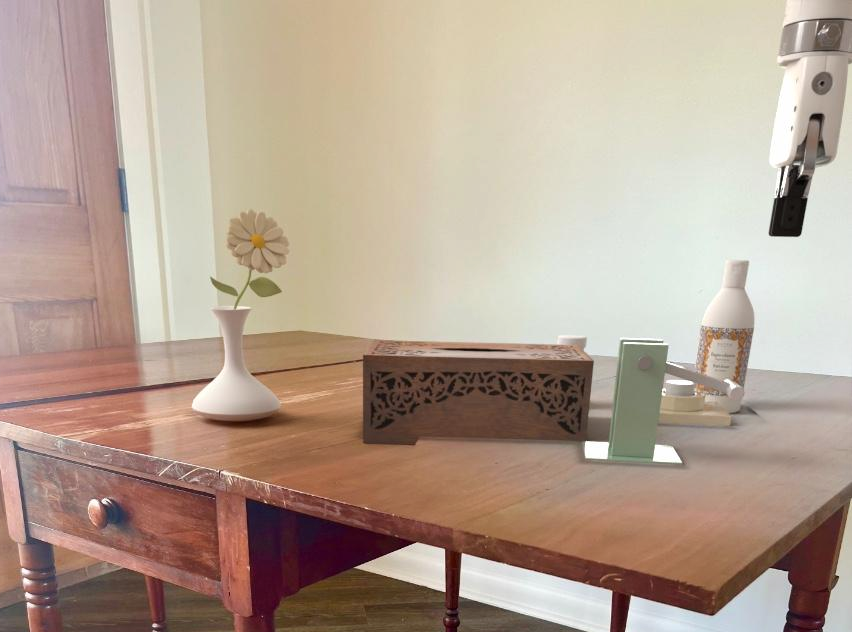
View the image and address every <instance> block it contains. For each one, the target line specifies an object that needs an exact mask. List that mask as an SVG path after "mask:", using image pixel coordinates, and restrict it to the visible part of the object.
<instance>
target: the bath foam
mask: <svg viewBox="0 0 852 632" xmlns="http://www.w3.org/2000/svg"><path fill="white" fill-rule="evenodd" d="M749 266H750V261H749V260H747V259H727V260H725V266H724V272H723V279H722V287H721V289H720V290H719V291H718V293H717V294H716V295H715V297H713V299H712V300H711V302H710V303H709V305H708V306H707V308H706V310H705V312H704V314H703V317H702V320H701V324H700V329H699V337H698V343H697V350H696V355H695V363H694V370H693V371H695V372H698V373H701V374H704V375H707V376H710V377H713V378H716V379H719V380H722V381H724V380H727V379H731V380H733V381H734V382H735V383H737V384H738V385H739V386H740V387H742V388H743V389H744V390H745V385H746V377H747V372H748V366H749V361H750V354H751V349H752V343H753V337H754V331H755V311H754V307H753V305H752V302H751V300H750V297H749V295H748V293H747V291H746V284H747V278H748V272H749ZM694 391H698V392H702V393H704V394H705V395H706V396H705V401H707V402H718V403H719V404H720V405H721V406H722V407H723V408H724V409H725V410H726V411H727V412H728V413H729V414H730V415H732V414H735V413H738V412H739V411H740V410H741V406H742V401H743V398H742V399H741V400H738V401H734V400H732V399H731V398H730V397H729V396H728V395H727V394H725V393H723V392H720V391H717V390H715V389H712V388H709V387H706V386H703V385H700V384H697V383H695V386H694Z"/></svg>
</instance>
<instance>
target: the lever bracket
mask: <svg viewBox="0 0 852 632" xmlns="http://www.w3.org/2000/svg"><path fill="white" fill-rule="evenodd" d="M668 352H669V344H668V343H664V340H663V339H661V338H633V337H632V338H630V337H620V339H619V347H618V353H617V354H618V355H617V364H616V373H615V380H614V381H615V382H614V391H613V398H612V406H611V407H612V408H611V417H610V424H609V425H610V427H609V436H608V441H607V442H605V441H587V440H586V441H581V445H582V450H583V456H584V461H597V462H600V461H601V462H621V463H637V464H638V463H639V464H658V465H676V466H677V465H678V466H683V464H684V463H683V461H682V460H681V457H680V456H679V455H678V453H677V451H676V450H675V447H674V446H673V445H667V444H656V443H657V436H658V435H657V434H658V427H659V423H658V421H659V414H660V406H661V399H662V391H663V389H664V382H665V375H666V373H665V369H666V362H668V361H667V360H668V354H669V353H668Z"/></svg>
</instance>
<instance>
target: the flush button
mask: <svg viewBox="0 0 852 632" xmlns="http://www.w3.org/2000/svg"><path fill="white" fill-rule="evenodd" d="M694 386H695V383H694V382H691V381H688V380H684V379H682V380H681V379H669V380H666V381H665V386H664V389H665V394H669V395H678V396H691V395H693V393H694Z"/></svg>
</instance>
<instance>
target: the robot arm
mask: <svg viewBox="0 0 852 632" xmlns="http://www.w3.org/2000/svg"><path fill="white" fill-rule="evenodd" d="M779 41H780V42H779V47H778V48H779V49H778V55H777V60H776V66H777V67H778V68H781V69H785V70H784V75H783V80H782V85H781V88H780V94H779V100H778V105H777V110H776V115H775V120H774V126H773V132H772V137H771V138H772V139H771V144H770V152H769V164H770V165H771V167H772V168H774V169H778V171H777V179H776V185H775V191H774V192H775V193H774V198H773V203H772V210H771V216H770V221H769V228H768V236H769V237H774V238H775V237H776V238H777V237H778V238H779V237H780V238H799V237H800V236H801V235H802V233H803V227H804V222H805V216H806V211H807V206H808V201H809V194H810V191H811V190H810V189H811V185H812V181H813V176H814V174H815V171H816V168H820V167H824V166H828V165H830V164H831V163H832V162H834V161H835V159H836V157H837V153H838V148H839V142H840V134H841V128H842V122H843V120H842V119H843V115H844V108H845V102H846V101H845V100H846V93H847V86H848V85H847V84H848V74H849V65H851V64H852V0H786V5H785V11H784V17H783V23H782V30H781V36H780V40H779Z"/></svg>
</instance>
